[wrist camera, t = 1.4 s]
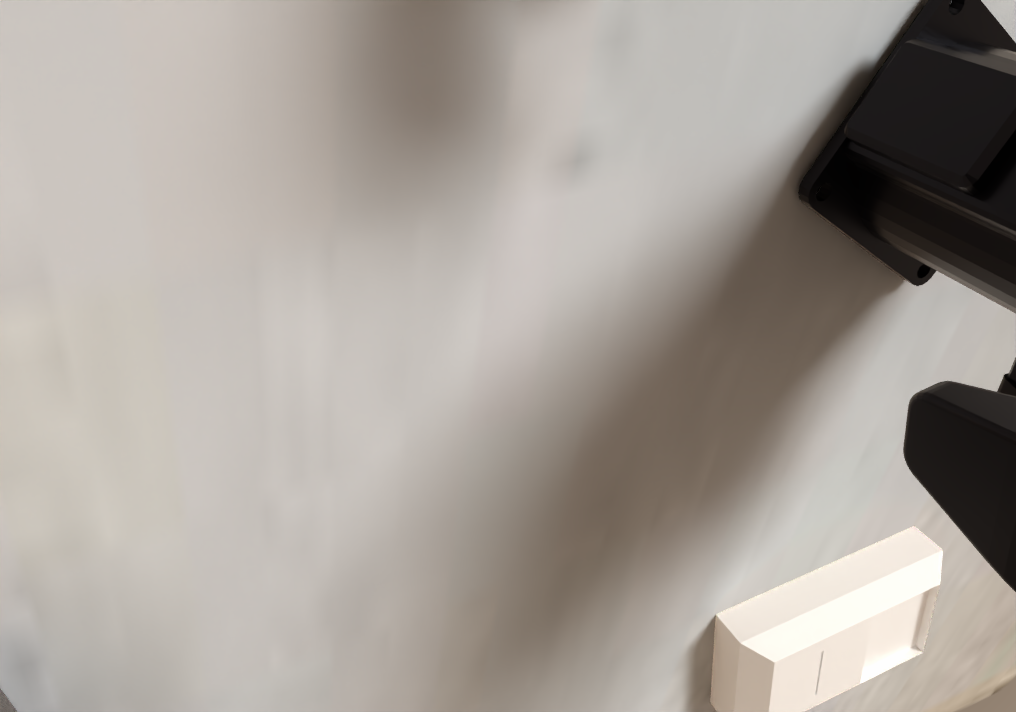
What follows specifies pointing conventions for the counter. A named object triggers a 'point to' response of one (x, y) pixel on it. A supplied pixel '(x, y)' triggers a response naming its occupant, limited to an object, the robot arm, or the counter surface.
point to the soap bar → (827, 628)
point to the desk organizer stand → (5, 704)
